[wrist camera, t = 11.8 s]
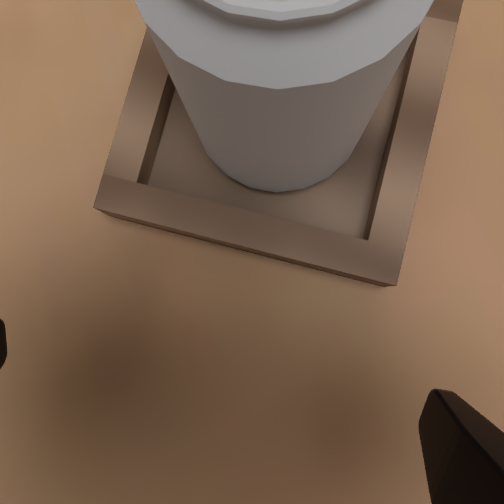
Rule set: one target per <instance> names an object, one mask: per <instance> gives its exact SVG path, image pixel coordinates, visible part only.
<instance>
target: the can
mask: <svg viewBox="0 0 504 504" xmlns="http://www.w3.org/2000/svg"><path fill="white" fill-rule="evenodd" d="M134 1H135V3H136V5H137V7H138V9H139V11H140V13H141V16H142V18H143V20H144V22H145V24H146V26H147V28H148V30H149V33H150V35H151V37H152V39H153V41H154V43H155V45H156V47H157V49H158V52H159V54H160V56H161V58H162V60H163V62H164V64H165V66H166V68H167V71H168V73H169V75H170V77H171V79H172V81H173V83H174V85H175V87H176V90H177V92H178V94H179V96H180V98H181V100H182V102H183V104H184V106H185V109H186V111H187V113H188V115H189V117H190V119H191V121H192V123H193V125H194V128H195V130H196V132H197V134H198V136H199V138H200V140H201V142H202V144H203V147H204V149H205V151H206V153H207V155H208V157H209V158H210V159H211V160H212V161H213V162H214V163H215V164H216V165H217V166H218V167H219V168H220V169H221V170H222V171H223V172H224V173H225V174H226V175H227V176H229V177H231V178H233V179H234V180H236V181H238V182H240V183H242V184H244V185H246V186H247V187H249V188H254V189H260V190H265V191H271V192H276V193H277V192H285V191H292V190H300V189H305V188H307V187H309V186H311V185H313V184H316V183H318V182H320V181H322V180H324V179H326V178H328V177H330V176H331V175H332V174H333V173H334V172H335V171H336V170H337V169H338V168H339V167H340V166H341V165H343V164H344V163H345V162H346V161H347V160H348V159H349V157H350V155H351V154H352V152H353V150H354V148H355V146H356V144H357V143H358V141H359V139H360V137H361V135H362V133H363V132H364V130H365V128H366V126H367V124H368V122H369V120H370V119H371V117H372V115H373V113H374V111H375V109H376V107H377V106H378V104H379V102H380V100H381V98H382V96H383V94H384V92H385V91H386V89H387V87H388V85H389V83H390V81H391V79H392V78H393V76H394V74H395V72H396V70H397V68H398V66H399V65H400V63H401V61H402V59H403V57H404V55H405V53H406V51H407V50H408V48H409V46H410V44H411V42H412V40H413V38H414V37H415V35H416V33H417V31H418V29H419V27H420V25H421V24H422V22H423V20H424V18H425V16H426V14H427V12H428V10H429V9H430V7H431V5H432V3H433V1H434V0H134Z"/></svg>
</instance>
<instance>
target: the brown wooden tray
mask: <svg viewBox="0 0 504 504" xmlns="http://www.w3.org/2000/svg"><path fill="white" fill-rule="evenodd" d="M462 3H463V0H434V1H433V3H432V5H431V7H430V9H429V10H428V12H427V14H426V16H425V18H424V20H423V22H422V24H421V25H420V27H419V29H418V31H417V33H416V35H415V37H414V38H413V40H412V42H411V44H410V46H409V48H408V50H407V51H406V53H405V55H404V57H403V59H402V61H401V63H400V65H399V66H398V68H397V70H396V72H395V74H394V76H393V78H392V79H391V81H390V83H389V85H388V87H387V89H386V91H385V92H384V94H383V96H382V98H381V100H380V102H379V104H378V106H377V107H376V109H375V111H374V113H373V115H372V117H371V119H370V120H369V122H368V124H367V126H366V128H365V130H364V132H363V133H362V135H361V137H360V139H359V141H358V143H357V144H356V146H355V148H354V150H353V152H352V154H351V155H350V157H349V159H348V160H347V161H346V162H345V163H344V164H343V165H341V166H340V167H339V168H338V169H337V170H336V171H335V172H334V173H333V174H332V175H331V176H330V177H328V178H326V179H324V180H322V181H320V182H318V183H316V184H313V185H311V186H309V187H307V188H305V189H300V190H292V191H285V192H277V193H276V192H271V191H265V190H260V189H254V188H249V187H247V186H246V185H244V184H242V183H240V182H238V181H236V180H234V179H233V178H231V177H229V176H227V175H226V174H225V173H224V172H223V171H222V170H221V169H220V168H219V167H218V166H217V165H216V164H215V163H214V162H213V161H212V160H211V159H210V158H209V157H208V155H207V153H206V151H205V149H204V147H203V144H202V142H201V140H200V138H199V136H198V134H197V132H196V130H195V128H194V125H193V123H192V121H191V119H190V117H189V115H188V113H187V111H186V109H185V106H184V104H183V102H182V100H181V98H180V96H179V94H178V92H177V90H176V87H175V85H174V83H173V81H172V79H171V77H170V75H169V73H168V71H167V68H166V66H165V64H164V62H163V60H162V58H161V56H160V54H159V52H158V49H157V47H156V45H155V43H154V41H153V39H152V37H151V35H150V33H149V30H148V28H147V29H146V33H145V36H144V39H143V43H142V46H141V49H140V53H139V56H138V59H137V63H136V66H135V69H134V73H133V76H132V79H131V83H130V86H129V89H128V93H127V96H126V99H125V103H124V106H123V109H122V113H121V116H120V119H119V123H118V126H117V129H116V133H115V136H114V139H113V143H112V146H111V149H110V153H109V156H108V159H107V163H106V166H105V169H104V173H103V176H102V179H101V183H100V186H99V189H98V193H97V196H96V199H95V203H94V206H93V208H95V209H97V210H99V211H101V212H103V213H105V214H107V215H109V216H112V217H116V218H120V219H124V220H127V221H131V222H135V223H139V224H143V225H147V226H151V227H155V228H158V229H162V230H166V231H170V232H174V233H178V234H182V235H186V236H189V237H193V238H197V239H201V240H205V241H209V242H213V243H216V244H220V245H224V246H228V247H232V248H236V249H240V250H244V251H247V252H251V253H255V254H259V255H263V256H267V257H271V258H275V259H278V260H282V261H286V262H290V263H294V264H298V265H302V266H306V267H309V268H313V269H317V270H321V271H325V272H329V273H333V274H337V275H340V276H344V277H348V278H352V279H356V280H360V281H364V282H368V283H371V284H375V285H379V286H383V287H387V286H396V285H397V281H398V276H399V272H400V268H401V264H402V259H403V255H404V251H405V247H406V242H407V238H408V234H409V230H410V225H411V221H412V217H413V212H414V208H415V204H416V200H417V195H418V191H419V187H420V183H421V178H422V174H423V170H424V165H425V161H426V157H427V153H428V148H429V144H430V140H431V136H432V131H433V127H434V123H435V119H436V114H437V110H438V106H439V101H440V97H441V93H442V89H443V84H444V80H445V76H446V72H447V67H448V63H449V59H450V55H451V50H452V46H453V42H454V37H455V33H456V29H457V25H458V20H459V16H460V12H461V8H462Z"/></svg>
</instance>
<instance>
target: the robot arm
mask: <svg viewBox="0 0 504 504" xmlns="http://www.w3.org/2000/svg"><path fill="white" fill-rule="evenodd" d="M6 357H7V343H6V332H5V324H4V322H3V320H1V319H0V369H1V367H2V366H3V364H4V362H5V360H6ZM419 434H420V440H421V446H422V452H423V458H424V464H425V470H426V476H427V481H428V487H429V493H430V498H431V503H432V504H504V432H502V431H501V430H500V429H499V428H497V427H496V426H495V425H494V424H492V423H491V422H490V421H489V420H487V419H486V418H485V417H484V416H483V415H481V414H480V413H479V412H478V411H476V410H475V409H474V408H473V407H471V406H470V405H469V404H468V403H467V402H465V401H464V400H463V399H462V398H460V397H459V396H458V395H457V394H455V393H454V392H452V391H447V390H441V389H433V390H431V391H430V393H429V395H428V397H427V400H426V403H425V405H424V408H423V411H422V414H421V416H420V419H419Z"/></svg>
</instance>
